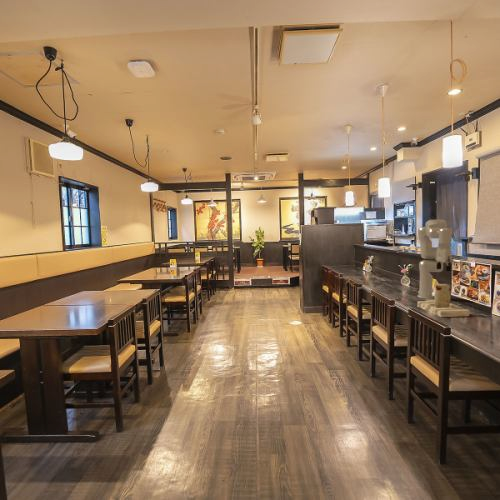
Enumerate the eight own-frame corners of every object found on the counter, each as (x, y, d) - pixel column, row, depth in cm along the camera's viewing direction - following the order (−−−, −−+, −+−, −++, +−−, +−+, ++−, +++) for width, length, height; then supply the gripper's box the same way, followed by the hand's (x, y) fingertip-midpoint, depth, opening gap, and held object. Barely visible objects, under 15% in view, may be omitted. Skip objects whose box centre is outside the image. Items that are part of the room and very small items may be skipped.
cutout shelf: (417, 306, 231) (417, 301, 231) (442, 305, 232) (442, 300, 232) (440, 316, 205) (440, 311, 205) (469, 316, 206) (469, 310, 206)
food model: (435, 311, 217) (436, 284, 216) (432, 309, 224) (433, 282, 222) (450, 312, 214) (452, 284, 212) (448, 310, 221) (449, 283, 219)
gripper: (431, 245, 223) (430, 268, 225) (448, 247, 206) (446, 272, 208) (441, 245, 224) (440, 268, 225) (458, 247, 206) (457, 272, 208)
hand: (443, 270), depth 216 cm, fingers open, 9 cm apart
